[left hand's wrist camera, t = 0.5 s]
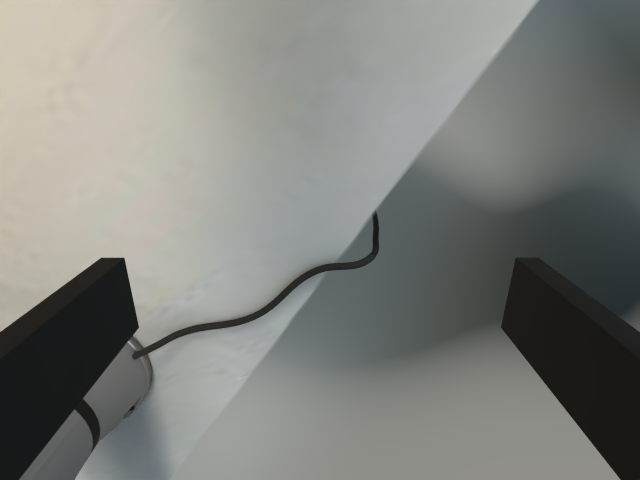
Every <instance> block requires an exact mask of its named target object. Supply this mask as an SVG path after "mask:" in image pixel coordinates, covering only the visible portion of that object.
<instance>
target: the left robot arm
mask: <svg viewBox="0 0 640 480" xmlns="http://www.w3.org/2000/svg"><path fill="white" fill-rule="evenodd" d="M138 328H139V326H138V321H137V316H136V311H135V307H134V302H133V297H132V292H131V288H130V283H129V278H128V273H127V269H126V264H125V259H124V258H101V259H99V260H98V261H96V262H95V263H94V264H92V265H91V266H90V267H88V268H87V269H86V270H84V271H83V272H81V273H80V274H79V275H77V276H76V277H75V278H73V279H72V280H71V281H69V282H68V283H67V284H65V285H64V286H62V287H61V288H60V289H58V290H57V291H56V292H54V293H53V294H52V295H50V296H49V297H47V298H46V299H45V300H43V301H42V302H41V303H39V304H38V305H37V306H35V307H34V308H33V309H31V310H30V311H28V312H27V313H26V314H24V315H23V316H22V317H20V318H19V319H18V320H16V321H15V322H13V323H12V324H11V325H9V326H8V327H7V328H5V329H4V330H3V331H1V332H0V480H19V479H20V478H21V477H22V475H23V474H24V473H25V472H26V470H27V469H28V468H29V467H30V465H31V464H32V463H33V461H34V460H35V459H36V458H37V456H38V455H39V454H40V453H41V451H42V450H43V449H44V448H45V446H46V445H47V444H48V442H49V441H50V440H51V439H52V437H53V436H54V435H55V434H56V432H57V431H58V430H59V428H60V427H61V426H62V425H63V423H64V422H65V421H66V420H67V418H68V417H69V416H70V414H71V413H72V412H73V411H74V409H75V408H76V407H77V406H78V404H79V403H80V402H81V400H82V399H83V398H84V397H85V395H86V394H87V393H88V392H89V390H90V389H91V388H92V386H93V385H94V384H95V383H96V381H97V380H98V379H99V378H100V376H101V375H102V374H103V372H104V371H105V370H106V369H107V367H108V366H109V365H110V364H111V362H112V361H113V360H114V358H115V357H116V356H117V355H118V353H119V352H120V351H121V350H122V348H123V347H124V346H125V344H126V343H127V342H128V341H129V339H130V338H131V337H132V336H133V334H134V333H135V332H136V330H137V329H138ZM501 328H502V329H503V330H504V332H505V333H506V334H507V336H508V337H509V338H510V339H511V341H512V342H513V343H514V344H515V346H516V347H517V348H518V350H519V351H520V352H521V353H522V355H523V356H524V357H525V358H526V360H527V361H528V362H529V364H530V365H531V366H532V367H533V369H534V370H535V371H536V372H537V374H538V375H539V376H540V378H541V379H542V380H543V381H544V383H545V384H546V385H547V386H548V388H549V389H550V390H551V392H552V393H553V394H554V395H555V397H556V398H557V399H558V400H559V402H560V403H561V404H562V406H563V407H564V408H565V409H566V411H567V412H568V413H569V414H570V416H571V417H572V418H573V420H574V421H575V422H576V423H577V425H578V426H579V427H580V428H581V430H582V431H583V432H584V433H585V435H586V436H587V437H588V439H589V440H590V441H591V442H592V444H593V445H594V446H595V448H596V449H597V450H598V451H599V453H600V454H601V455H602V456H603V458H604V459H605V460H606V461H607V463H608V464H609V465H610V467H611V468H612V469H613V470H614V472H615V473H616V474H617V475H618V477H619V478H620V479H621V480H640V332H639V331H637V330H636V329H635V328H633V327H632V326H631V325H629V324H628V323H626V322H625V321H624V320H622V319H621V318H620V317H618V316H617V315H616V314H614V313H613V312H612V311H610V310H609V309H607V308H606V307H605V306H603V305H602V304H601V303H599V302H598V301H597V300H595V299H594V298H593V297H591V296H590V295H588V294H587V293H586V292H584V291H583V290H582V289H580V288H579V287H578V286H576V285H575V284H573V283H572V282H571V281H569V280H568V279H567V278H565V277H564V276H563V275H561V274H560V273H559V272H557V271H556V270H554V269H553V268H552V267H550V266H549V265H548V264H546V263H545V262H544V261H542V260H541V259H539V258H516V259H515V264H514V269H513V274H512V278H511V283H510V288H509V292H508V297H507V302H506V307H505V311H504V316H503V321H502V326H501Z"/></svg>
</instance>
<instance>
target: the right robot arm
mask: <svg viewBox="0 0 640 480" xmlns="http://www.w3.org/2000/svg"><path fill="white" fill-rule="evenodd" d="M372 218H373V248H372V252H371V253H370V254H369V255H368V256H367V257H365V258H363V259H361V260H359V261H355V262H349V263H333V264H326V265H321V266H318V267H316V268H314V269H312V270H309V271H308V272H306V273H304V274H303V275H301V276H300V277H298V278H297V279H296V280H294V281H293V282H292V283H291V284H290V285H289V286H287V287H286V288H285V289H284V290H283V291H282V292H281V293H280V294H279V295H278V296H277V297H276V298H275V299H274V300H273V301H272V302H270V303H269V304H268V305H267V306H265V307H264V308H262V309H261V310H259V311H257V312H255V313H253V314H251V315H248V316H245V317H242V318H239V319H235V320H230V321H224V322H216V323H208V324H202V325H197V326H192V327H189V328H185V329H182V330H179V331H177V332H174V333H172V334H170V335H168V336H167V337H165V338H163V339H161V340H159V341H158V342H156V343H154V344H152V345H150V346H148V347H146V348H144V349H143V348H142V347H141V345H140V344H139V343H138V342H137V341H136V340H135V339H134V338H133V337H131V338H130V339H129V341H128V342H127V343H126V344H125V346H124V347H123V348H122V350H121V351H120V352H119V353H118V355H117V356H116V357H115V358H114V360H113V361H112V362H111V364H110V365H109V366H108V367H107V369H106V370H105V371H104V372H103V374H102V375H101V376H100V378H99V379H98V380H97V381H96V383H95V384H94V385H93V386H92V388H91V389H90V390H89V392H88V393H87V394H86V395H85V397H84V398H83V399H82V400H81V402H80V403H79V404H78V406H77V407H76V408H75V409H74V411H73V412H72V413H71V414H70V416H69V417H68V418H67V420H66V421H65V422H64V423H63V425H62V426H61V427H60V428H59V430H58V431H57V432H56V434H55V435H54V436H53V437H52V439H51V440H50V441H49V442H48V444H47V445H46V446H45V448H44V449H43V450H42V451H41V453H40V454H39V455H38V456H37V458H36V459H35V460H34V461H33V463H32V464H31V465H30V467H29V468H28V469H27V470H26V472H25V473H24V474H23V475H22V477H21V478H20V479H19V480H75V477H76V476H77V474H78V473H79V471H80V470H81V468H82V467H83V465H84V463H85V462H86V460H87V459H88V457H89V456H90V454H91V452H92V451H93V449H94V448H95V446H96V445H97V443H98V442H99V441H100V440H101V439H102V438H103V437H104V436H105V435H107V434H108V433H109V432H110V431H111V430H113V429H114V428H115V427H116V426H117V425H118V424H119V423H120V422H122V420H124V419H125V418H127V417H128V416H129V415H130V414H131V413H132V412H134V410H135V409H136V408H137V407H138V406H139V404H140V403H141V402H142V400H143V399H144V397H145V395H146V394H147V392H148V390H149V388H150V385H151V380H152V370H151V365H150V362H149V359H148V357H147V355H146V354H147V353H149V352H151V351H153V350H155V349H157V348H159V347H161V346H163V345H165V344H167V343H168V342H170V341H172V340H174V339H176V338H178V337H181V336H184V335H187V334H190V333H194V332H199V331H205V330H212V329H220V328H227V327H233V326H237V325H241V324H244V323H247V322H250V321H253V320H255V319H257V318H259V317H261V316H263V315H264V314H266V313H268V312H269V311H270V310H272V309H273V308H274V307H275V306H277V305H278V304H279V303H280V302H281V301H282V300H283V299H284V298H285V297H286V296H287V295H288V294H289V293H290V292H291V291H293V290H294V289H295V288H296V287H297V286H298V285H300V284H301V283H302V282H304V281H305V280H307V279H308V278H310V277H312V276H314V275H316V274H318V273H321V272H325V271H330V270H346V269H355V268H360V267H362V266H365V265H367V264H368V263H370V262H371V261H372V260H374V259H375V257H376V256H377V254H378V252H379V222H378V216H377V212H376V210H375V211H374V212H373V214H372Z"/></svg>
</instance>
